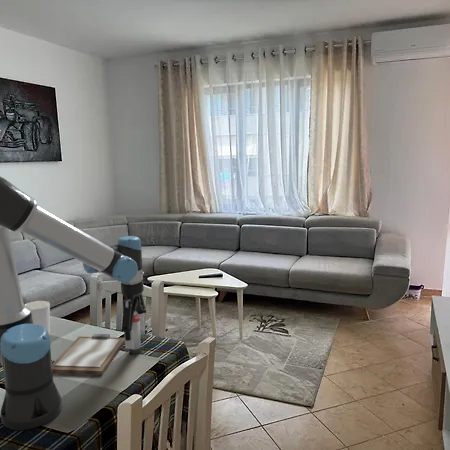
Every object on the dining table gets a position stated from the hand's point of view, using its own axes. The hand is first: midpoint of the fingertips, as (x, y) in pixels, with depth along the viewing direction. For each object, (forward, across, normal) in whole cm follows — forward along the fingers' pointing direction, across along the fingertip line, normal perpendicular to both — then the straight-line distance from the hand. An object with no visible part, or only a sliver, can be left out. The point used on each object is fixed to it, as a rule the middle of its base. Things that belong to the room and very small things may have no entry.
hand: (135, 339), depth 147 cm
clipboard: (+5, -4, +15) cm, 16 cm away
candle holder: (+5, +12, +42) cm, 44 cm away
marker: (+5, 0, 0) cm, 5 cm away
